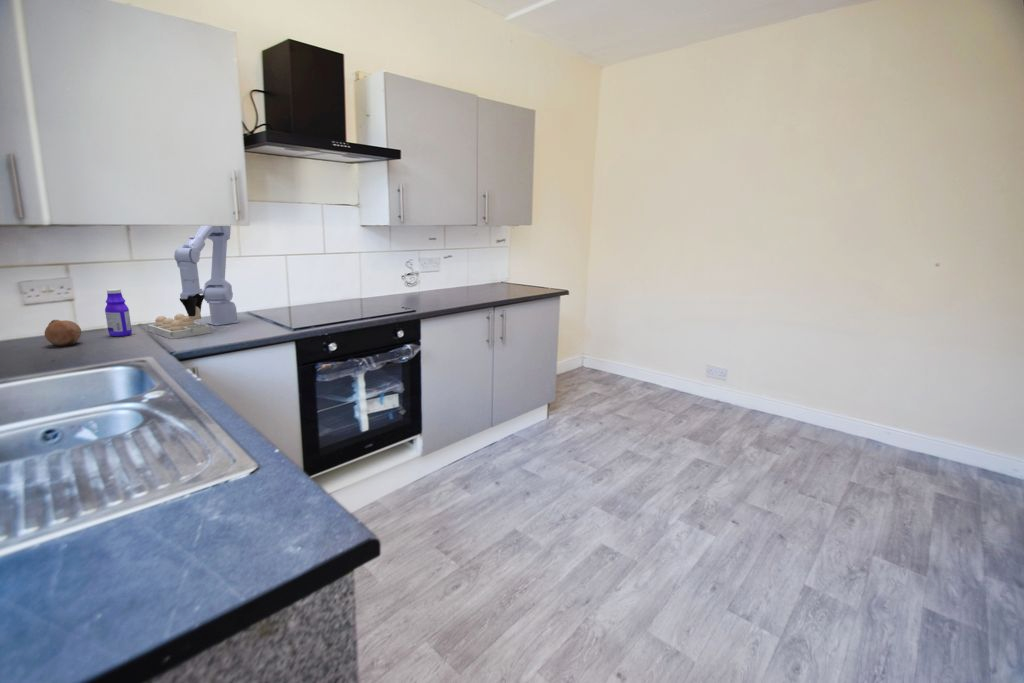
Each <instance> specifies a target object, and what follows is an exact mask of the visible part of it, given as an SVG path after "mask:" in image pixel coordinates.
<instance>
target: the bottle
mask: <svg viewBox="0 0 1024 683" xmlns="http://www.w3.org/2000/svg"><path fill="white" fill-rule="evenodd" d="M106 293H107V294H106V295H107V296H106V300H105V303H106V306H105V308H104V313H105V319H106V325H107V330H108V334H109V335H110V337H127V336H130V335H132V330H133V329H132V323H131V316H130V309H129V307H128V305H127V304H126V300H125V298H124V297H123V294H122V289H120V288H109V289H106Z"/></svg>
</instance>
